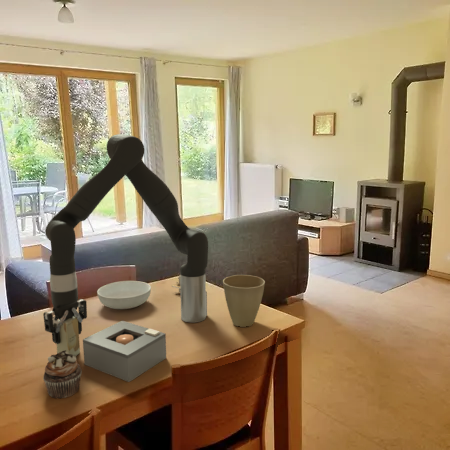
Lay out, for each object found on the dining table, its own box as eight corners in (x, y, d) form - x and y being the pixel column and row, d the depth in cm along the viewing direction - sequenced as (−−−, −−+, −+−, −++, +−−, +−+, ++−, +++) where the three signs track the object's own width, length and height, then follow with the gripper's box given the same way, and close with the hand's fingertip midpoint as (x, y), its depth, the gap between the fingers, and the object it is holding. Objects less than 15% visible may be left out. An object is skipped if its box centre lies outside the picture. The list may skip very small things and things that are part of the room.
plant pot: (253, 335, 151) (253, 290, 148) (215, 326, 158) (215, 283, 155) (270, 319, 164) (271, 278, 161) (235, 312, 171) (235, 272, 168)
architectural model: (183, 297, 188) (183, 280, 187) (171, 293, 193) (171, 277, 191) (189, 294, 191) (188, 278, 190) (177, 291, 195) (176, 275, 194)
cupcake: (36, 393, 117) (33, 358, 115) (66, 376, 125) (64, 343, 123) (60, 404, 112) (57, 368, 110) (90, 386, 120) (88, 352, 119)
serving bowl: (126, 292, 193) (126, 277, 191) (162, 302, 181) (161, 286, 179) (86, 307, 176) (85, 290, 175) (122, 319, 164) (122, 302, 163)
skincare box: (70, 361, 133) (67, 323, 131) (57, 360, 134) (53, 322, 132) (81, 351, 140) (78, 315, 137) (68, 350, 140) (65, 314, 138)
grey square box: (123, 343, 145) (122, 318, 144) (166, 358, 136) (165, 331, 134) (84, 364, 132) (82, 337, 130) (128, 382, 123) (127, 353, 121)
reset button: (125, 345, 137) (124, 332, 136) (137, 349, 134) (136, 336, 133) (113, 351, 132) (112, 339, 132) (125, 356, 130) (124, 343, 129)
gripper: (51, 296, 125) (55, 350, 128) (91, 282, 137) (94, 332, 140) (34, 291, 129) (39, 344, 132) (75, 278, 140) (78, 327, 144)
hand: (67, 338), depth 136 cm, fingers closed on skincare box, 7 cm apart
